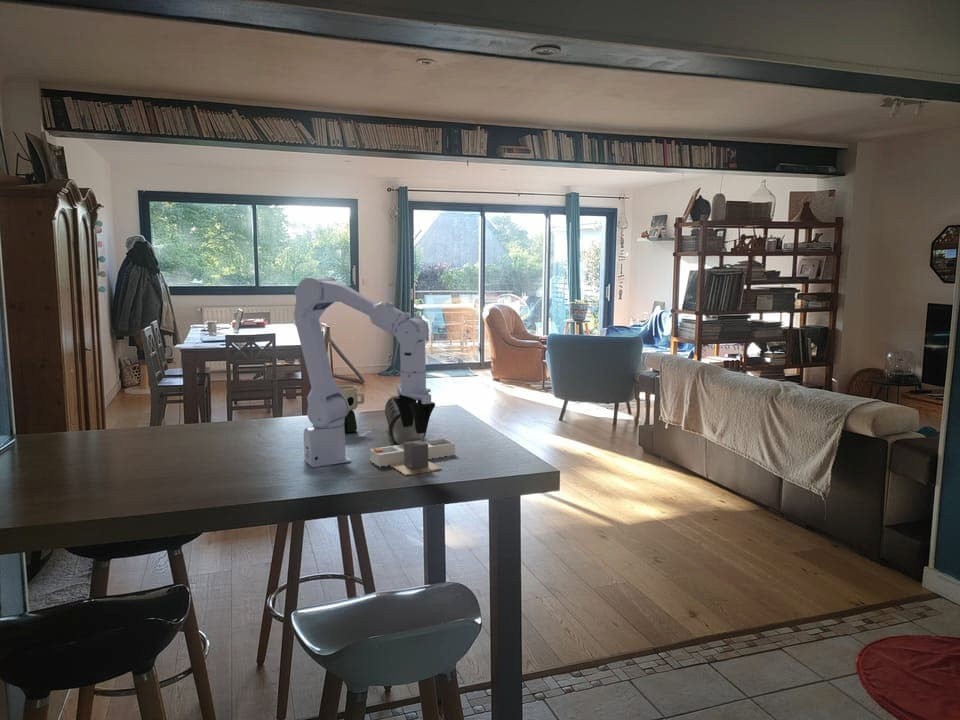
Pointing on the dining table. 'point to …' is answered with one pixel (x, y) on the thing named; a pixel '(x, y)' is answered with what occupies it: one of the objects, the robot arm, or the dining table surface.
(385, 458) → the socket strip
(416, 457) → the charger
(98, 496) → the dining table surface
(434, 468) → the coaster
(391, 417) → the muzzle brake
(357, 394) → the character mug
